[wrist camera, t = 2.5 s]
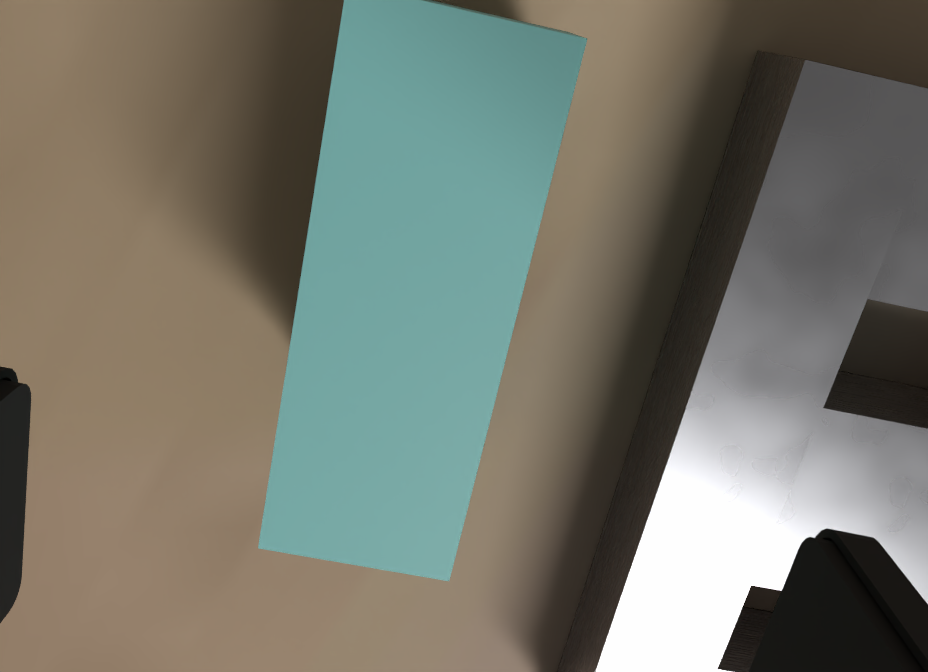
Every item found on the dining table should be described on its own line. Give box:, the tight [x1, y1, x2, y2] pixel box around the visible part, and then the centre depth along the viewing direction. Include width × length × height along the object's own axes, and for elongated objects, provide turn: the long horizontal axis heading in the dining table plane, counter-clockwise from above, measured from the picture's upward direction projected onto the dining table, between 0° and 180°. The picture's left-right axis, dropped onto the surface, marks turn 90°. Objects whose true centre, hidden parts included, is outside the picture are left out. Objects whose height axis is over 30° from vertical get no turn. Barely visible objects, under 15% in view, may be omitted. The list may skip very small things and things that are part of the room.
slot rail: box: [557, 51, 928, 672], centre depth 23 cm, size 12×20×3 cm, turn 168°
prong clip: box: [258, 0, 587, 581], centre depth 19 cm, size 4×11×6 cm, turn 168°
